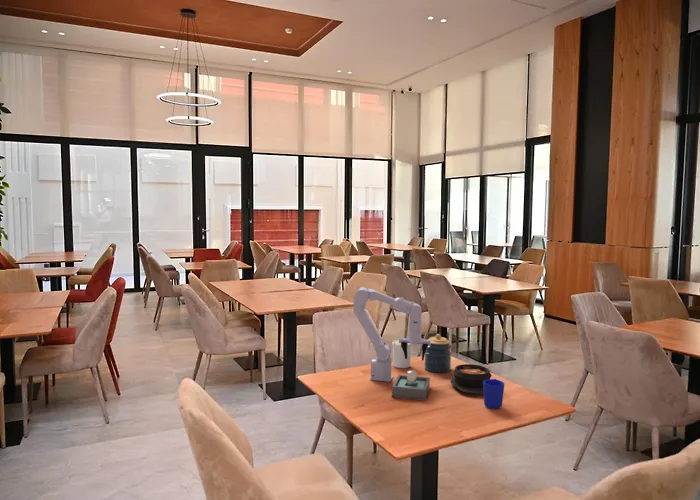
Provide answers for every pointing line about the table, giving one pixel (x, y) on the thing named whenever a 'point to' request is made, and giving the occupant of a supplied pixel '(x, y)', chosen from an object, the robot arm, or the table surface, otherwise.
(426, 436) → the table surface
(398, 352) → the candle holder
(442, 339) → the canister
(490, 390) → the mug
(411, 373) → the peg
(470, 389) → the casserole
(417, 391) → the tray
